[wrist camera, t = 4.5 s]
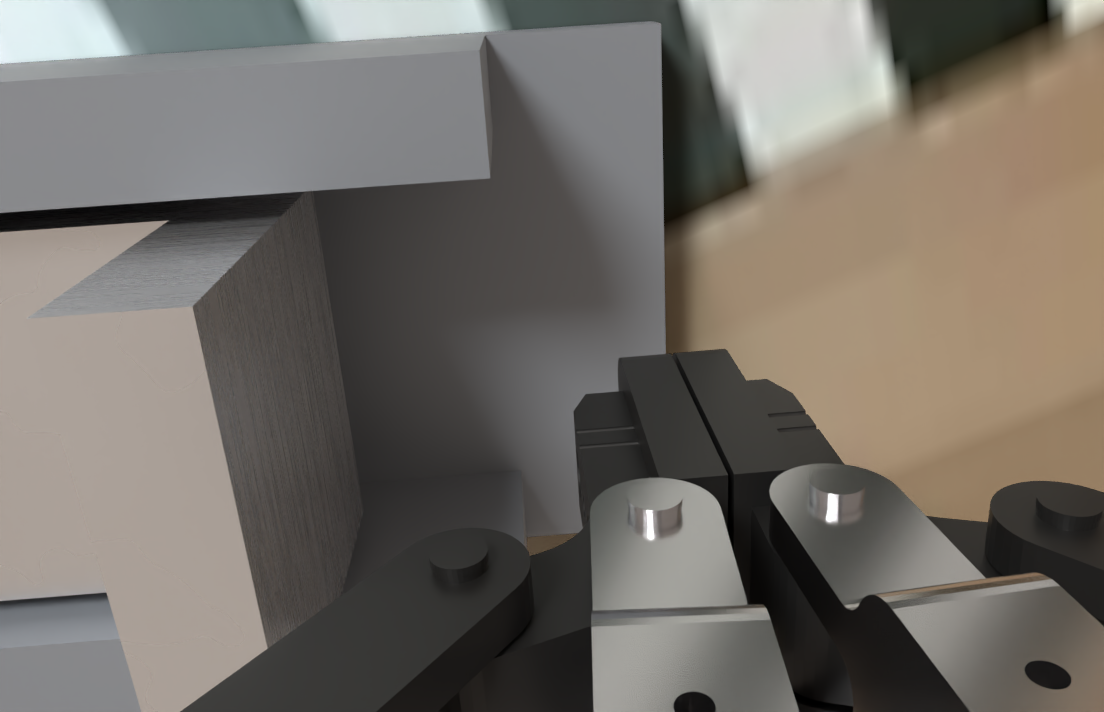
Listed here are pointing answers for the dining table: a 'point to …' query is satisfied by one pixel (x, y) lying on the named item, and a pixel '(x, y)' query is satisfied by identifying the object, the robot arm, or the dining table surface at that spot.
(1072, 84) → the dining table surface
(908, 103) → the dining table surface
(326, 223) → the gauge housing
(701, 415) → the robot arm
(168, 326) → the notched taupe block
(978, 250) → the dining table surface
